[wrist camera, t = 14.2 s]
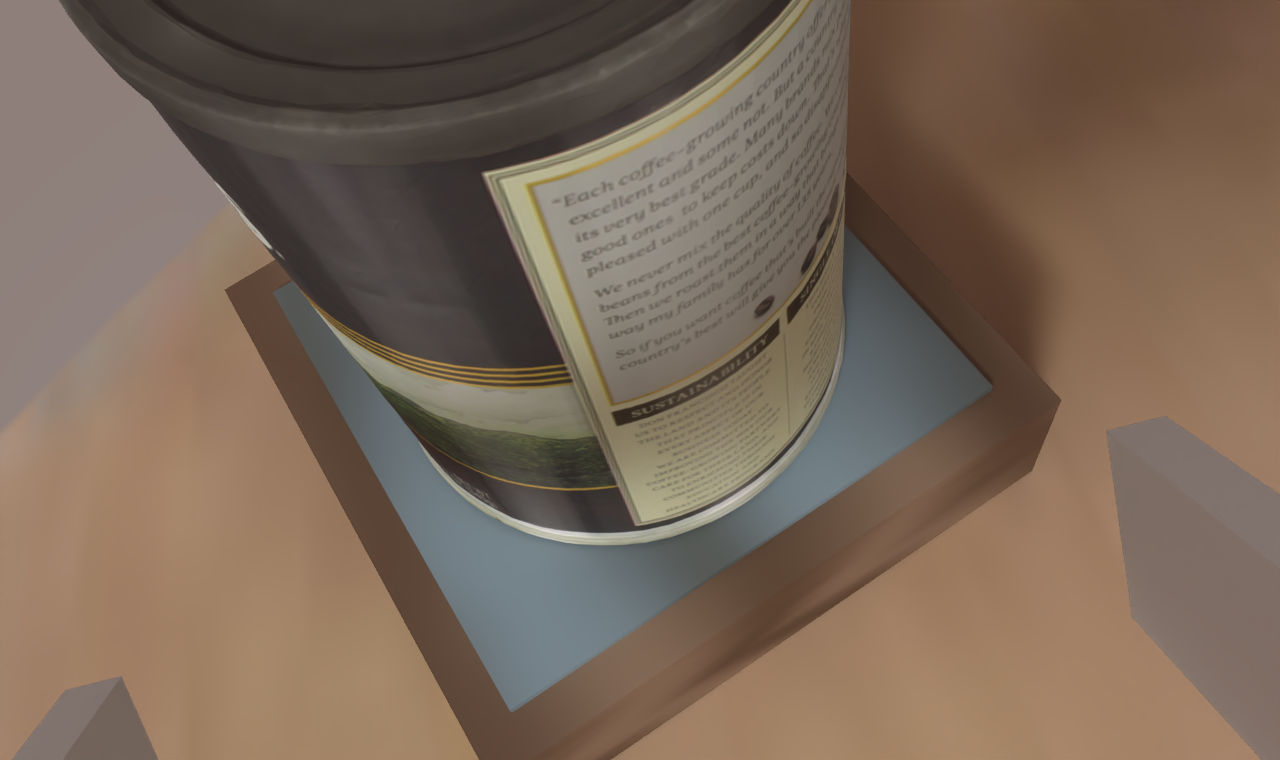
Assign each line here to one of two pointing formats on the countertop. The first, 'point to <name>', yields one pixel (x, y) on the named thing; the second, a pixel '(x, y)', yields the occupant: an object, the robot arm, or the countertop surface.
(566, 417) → the coffee can
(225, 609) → the countertop surface
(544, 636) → the walnut tray
